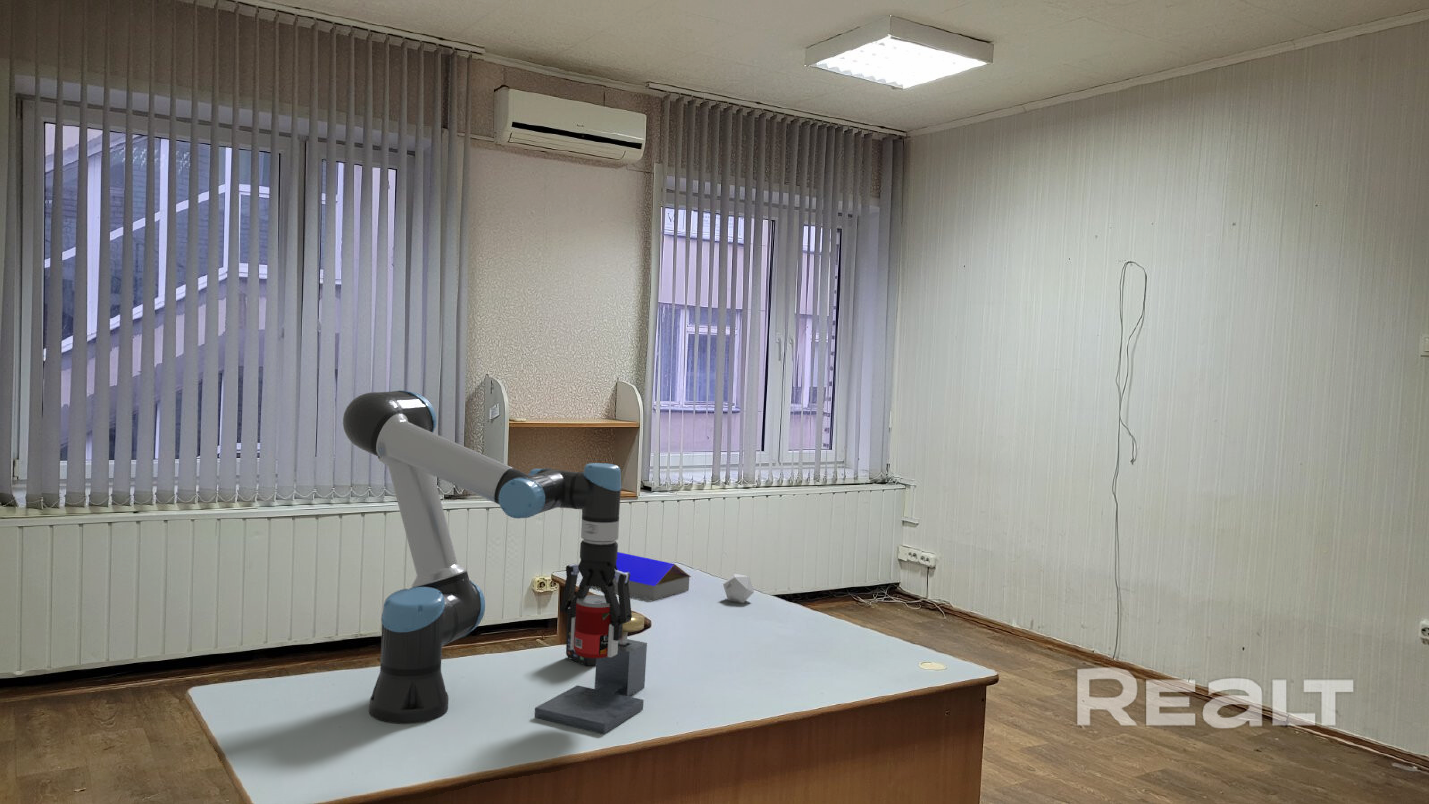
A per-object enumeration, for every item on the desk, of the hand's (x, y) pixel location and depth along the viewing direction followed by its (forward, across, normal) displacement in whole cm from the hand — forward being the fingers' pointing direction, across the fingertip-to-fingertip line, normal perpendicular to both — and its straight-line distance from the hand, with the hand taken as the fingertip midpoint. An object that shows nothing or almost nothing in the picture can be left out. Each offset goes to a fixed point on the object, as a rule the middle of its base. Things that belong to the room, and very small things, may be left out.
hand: (593, 651), depth 207 cm
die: (+13, -11, +104) cm, 106 cm away
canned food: (0, 0, 0) cm, 0 cm away
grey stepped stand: (+13, 0, +6) cm, 14 cm away
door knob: (+7, -2, +16) cm, 17 cm away
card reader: (+13, -19, +28) cm, 36 cm away
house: (+13, -42, +100) cm, 110 cm away
